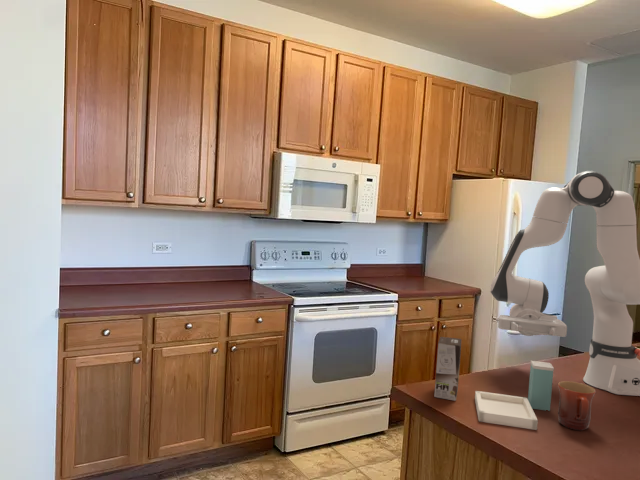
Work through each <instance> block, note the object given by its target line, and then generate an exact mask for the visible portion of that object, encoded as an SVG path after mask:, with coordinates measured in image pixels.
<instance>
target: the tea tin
mask: <svg viewBox="0 0 640 480" xmlns="http://www.w3.org/2000/svg"><path fill="white" fill-rule="evenodd" d="M529 368H530V369H529V379H528V380H529V381H528V393H527V394H528V395H527V399H528V401H529V403H530V405H531V407H532V409H534V410H540V411H546V410H548V411H549V412H550V411H551V402H552V392H553V390H552V389H553V382H554V380H553V379H554V371H555V368H554V366H553V365H552V363H550V362H546V361H538V360H530V367H529ZM548 411H547V412H548Z"/></svg>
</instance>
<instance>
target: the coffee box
mask: <svg viewBox="0 0 640 480" xmlns="http://www.w3.org/2000/svg"><path fill="white" fill-rule="evenodd" d="M437 346H438V347H437V353H436V354H437V356H436V357H437V358H436V366H435V367H436V370H435V381H434V385H435V386H434V393H433V395H434V398H437V399H444V400H450V401H453V402H455V401H457V397H458V392H459V391H458V389H459V380H460V368H461V366H460V365H461V352H462V338H456V337H447V336H440V337H439V340H438V343H437Z"/></svg>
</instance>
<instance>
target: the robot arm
mask: <svg viewBox="0 0 640 480" xmlns="http://www.w3.org/2000/svg"><path fill="white" fill-rule="evenodd" d="M578 206H587V207H588V206H591V207H592V208H593V209H594V211H595V215H596V249H597V251H598V253H599V255H601V257H602V260H603V262H604V265H599V266H594V267H592V268H590V269H588V271H587V272H586V274H585V276H584V284H585V287H586V289H587V290H588V292H589V294H590V299H591V300H590V301H591V305H592V312H593V326H592V327H593V328H592V337H591V338H592V339H590V343H589V349H588V350H589V352H588V355H589V361H588V364H587V368H586V372H585V375H584V376H583V378H582V380H583V382H584V383H586V385H588V386H590V387H593V388H596V389H600V390H603V391H607V392H609V393H612V394H615V395H622V396H637V397H638V396H639V397H640V359H639V358H638V357H637V356H639V357H640V348H637V347H635V346H634V345H632V342H633V331H634V321H633V319H632V317H631V316H630V314H629V310H628V307H627V306H628V305H632V306H633V305H634V306H635V305H640V255H639V251H638V239H637V238H638V237H637V236H638V235H637V214H636V208H635V203H634V198H633V196H632V195H631V194H630V193H628V192H626V191H623V190H615V189H614V188H613V186H612V185H611V184H610V181H608V179H607V177H606V176H604V175H603V173H601V172H598V171H595V170H586V171H581V172H579V173H577V174H575V175H574V176H573V177H572V178H571V179H570V180H569V181H568V182H567V183H566V184H565V185H564V186H563V187H557V186H555V187H548V188H546V189H544V190H543V191H542V192H541V195H540V197H539V198H538V200H537V203H536V206H535V208H534V212H533V214H532V218H531V220H530V222H529V223H528V225H527V226H526V227H525V228H524V229H520V230H519V231H518V232H517V233H516V235H515V237H514V239H513V240H512V242H511V244H510V246H509V248H508V250H507V252H506V254H505V257H504V258H503V261H502V263H501V265H500V267H499V268H498V271H497V272H496V275H495V277H494V278H493V279H492V281H491V284H490V294H491V295H492V297H493V299H495V300H496V301H498V302H504V303H511V304H513V305H512V306H511V308H510V310H509V315H505V314H501V315H500V314H499V316H498V317H495V321H496V322H497V328H498V329H500V330H504V331H505V330H506V331H513V332H518V333H519V334H521V335H522V336H527V337H533V336H541V335H542V336H553V337H554V336H555V337H561V338H562V337H563V338H565V337H567V334H568V333H567V332H568V326H567V324H566V323H565V322H564V321H562V320H561V319H558V316H557V315H553V314H550V313H545V311H546V308H547V306H548V302H549V290H548V287H547V285H546V284H545V282H543V281H541V280H537V279H532V278H526V277H522V276H519V275H515V274H513V271H514V270H515V267H516V265H517V263H518V260H519V259H520V256H521V255H522V254H523V253H524V252H525V251H527V250H530V249H532V248H541V247H543V248H544V247H549V246H552V245H554V244H556V243H558V242H560V240H562V239H563V237H564V235H565V233H566V230H567V227H568V223H569V220H570V216H571V213H572V211H573V210H574V209H575V207H578Z"/></svg>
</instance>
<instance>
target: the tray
mask: <svg viewBox="0 0 640 480" xmlns="http://www.w3.org/2000/svg"><path fill="white" fill-rule="evenodd" d="M474 392H475V394H474V403H475V410H476V414H477V420H478V422H480V423H487V424H494V425H501V426H508V427H514V428H521V429H525V430H526V429H528V430H532V431H533V430H535V431H537V430H538V422H539V420H538V418H537V415H536V414H535V412H534V410H533V409H532V407H531V405H530V403H529V401H528V397H525V396H524V397H523V396H517V395H509V394H502V393H494V392H488V391H481V390H475V391H474Z"/></svg>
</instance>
